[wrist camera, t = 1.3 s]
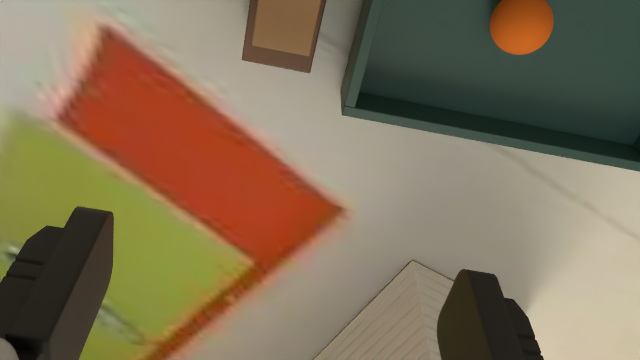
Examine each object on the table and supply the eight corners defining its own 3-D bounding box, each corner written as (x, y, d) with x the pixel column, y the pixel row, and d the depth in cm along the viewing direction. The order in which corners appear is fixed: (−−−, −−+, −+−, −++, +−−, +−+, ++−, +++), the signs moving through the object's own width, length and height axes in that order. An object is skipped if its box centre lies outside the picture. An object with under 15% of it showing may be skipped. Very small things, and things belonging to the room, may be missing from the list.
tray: (406, -168, 27) (414, -162, 24) (766, -78, 29) (805, -65, 27) (340, 91, 34) (341, 115, 32) (630, 148, 36) (651, 174, 34)
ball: (496, -22, 30) (512, -3, 27) (552, -10, 30) (573, 11, 28) (475, 35, 31) (488, 57, 29) (528, 46, 32) (546, 69, 29)
